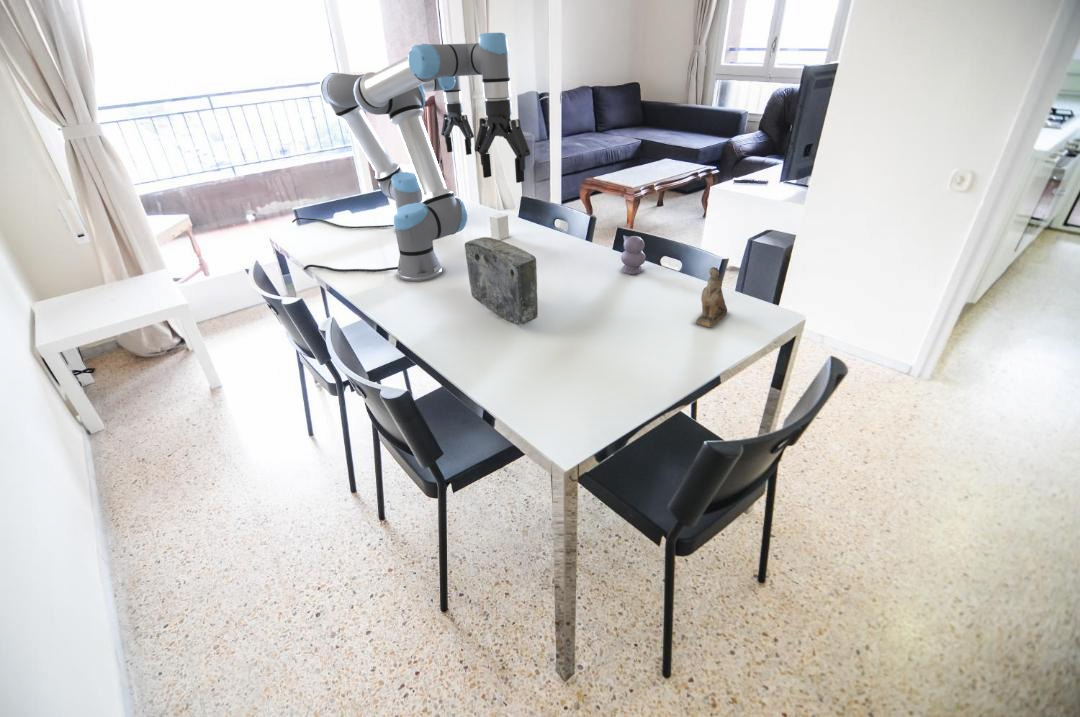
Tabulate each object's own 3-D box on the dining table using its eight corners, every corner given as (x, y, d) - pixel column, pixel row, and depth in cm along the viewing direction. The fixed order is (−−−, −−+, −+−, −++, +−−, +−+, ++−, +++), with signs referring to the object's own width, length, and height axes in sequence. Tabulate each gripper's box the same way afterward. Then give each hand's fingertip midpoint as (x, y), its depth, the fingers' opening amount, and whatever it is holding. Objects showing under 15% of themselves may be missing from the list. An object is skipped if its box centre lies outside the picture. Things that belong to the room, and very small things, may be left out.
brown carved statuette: (709, 335, 136) (713, 280, 124) (691, 329, 139) (693, 274, 128) (730, 313, 142) (736, 258, 130) (712, 307, 145) (716, 253, 133)
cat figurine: (649, 270, 171) (652, 236, 165) (636, 276, 167) (638, 242, 160) (628, 264, 176) (630, 231, 170) (615, 271, 172) (617, 237, 165)
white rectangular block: (509, 236, 209) (507, 215, 204) (499, 240, 205) (497, 218, 200) (501, 234, 212) (499, 213, 207) (491, 238, 208) (489, 216, 203)
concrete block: (545, 326, 139) (543, 257, 128) (519, 336, 134) (514, 266, 124) (495, 295, 157) (489, 234, 147) (470, 303, 153) (463, 240, 143)
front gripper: (540, 99, 132) (543, 181, 143) (476, 97, 147) (483, 172, 158) (521, 101, 128) (526, 186, 139) (457, 99, 142) (465, 177, 153)
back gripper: (478, 102, 218) (483, 154, 229) (442, 101, 232) (448, 149, 243) (465, 104, 213) (471, 156, 224) (429, 102, 227) (436, 152, 238)
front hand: (503, 179), depth 148 cm, fingers open, 13 cm apart
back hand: (459, 153), depth 234 cm, fingers open, 13 cm apart
